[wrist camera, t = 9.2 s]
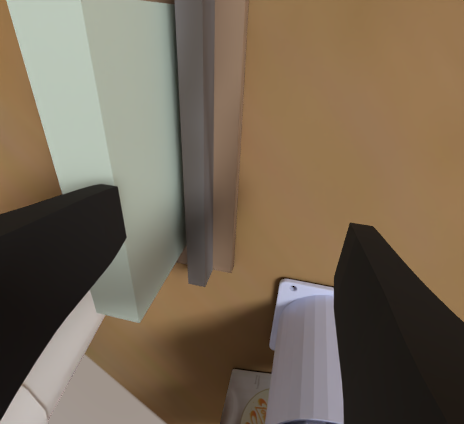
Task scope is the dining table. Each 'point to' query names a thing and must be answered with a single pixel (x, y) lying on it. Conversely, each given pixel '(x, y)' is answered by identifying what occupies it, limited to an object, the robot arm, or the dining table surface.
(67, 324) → the foam cup
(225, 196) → the bottom track
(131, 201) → the door panel
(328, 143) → the dining table surface
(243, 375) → the coffee box
